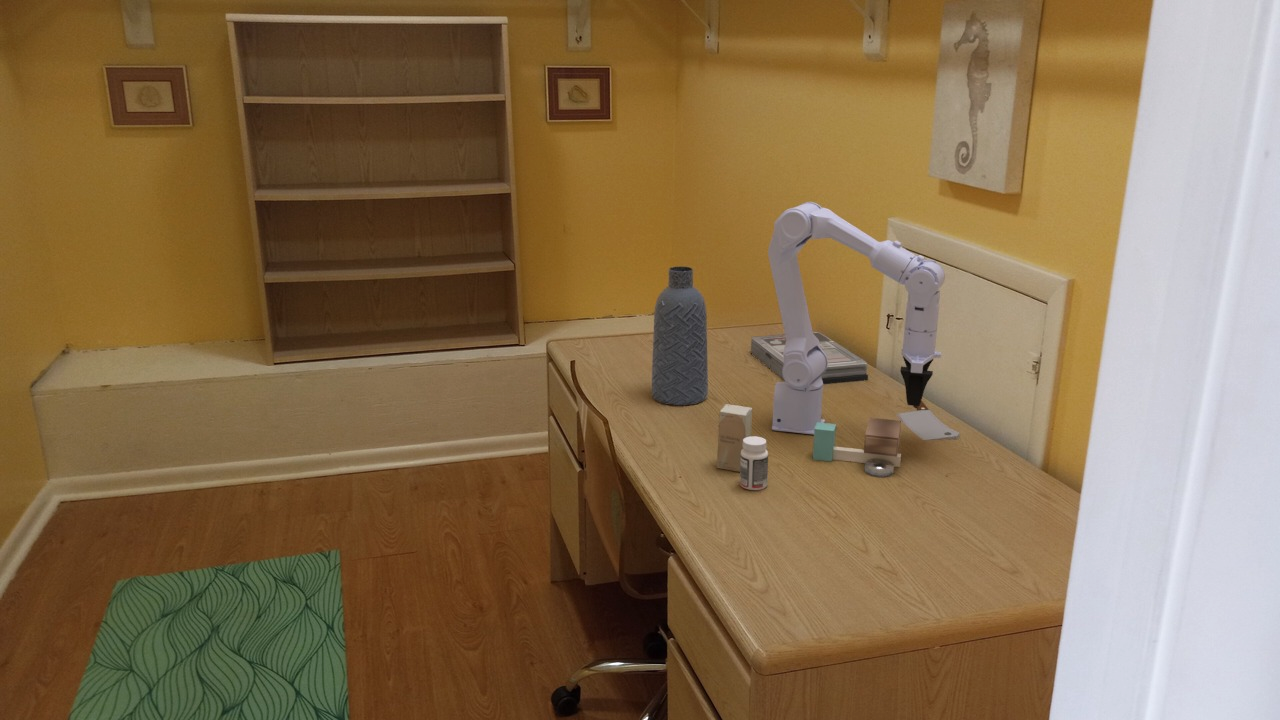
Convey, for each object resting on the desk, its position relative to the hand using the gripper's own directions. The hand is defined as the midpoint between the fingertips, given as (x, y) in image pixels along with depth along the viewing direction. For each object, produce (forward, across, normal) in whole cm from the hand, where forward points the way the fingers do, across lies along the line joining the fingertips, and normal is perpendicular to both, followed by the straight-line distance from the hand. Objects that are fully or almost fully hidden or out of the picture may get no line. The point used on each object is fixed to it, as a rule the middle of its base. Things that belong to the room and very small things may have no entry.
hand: (914, 398), depth 187 cm
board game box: (+11, +45, +26) cm, 52 cm away
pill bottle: (+10, -26, +25) cm, 37 cm away
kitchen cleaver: (+10, +16, -1) cm, 19 cm away
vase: (+10, +15, +49) cm, 52 cm away
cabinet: (+10, -10, +5) cm, 15 cm away
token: (+10, -13, +5) cm, 17 cm away
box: (+10, -18, +30) cm, 37 cm away
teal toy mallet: (+10, -10, +9) cm, 16 cm away
